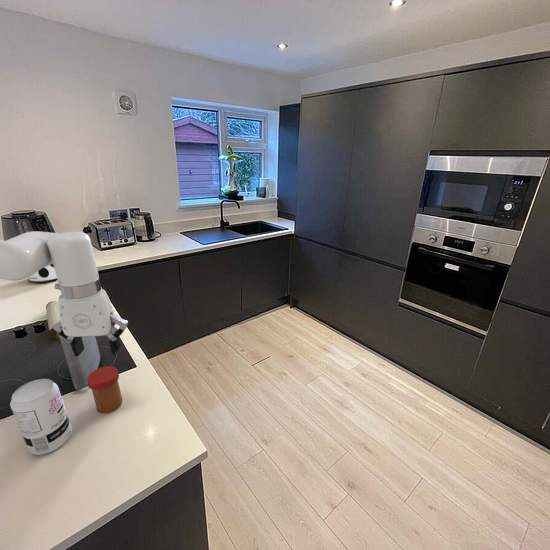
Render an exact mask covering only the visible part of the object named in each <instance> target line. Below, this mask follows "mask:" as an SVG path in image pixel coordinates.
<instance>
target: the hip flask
mask: <svg viewBox="0 0 550 550" xmlns="http://www.w3.org/2000/svg"><path fill="white" fill-rule="evenodd" d="M59 337H60V339H59V340H60V343H61V346H62V350H63V353H64V356H65V357H64V358H65V360H66V364H67V366H68V370H69V373H70V377H71V381H72V384H73V387H74V389H75V390H76V391H80V390H81V391H82V390H83V389H85V388H87V386H88V381H87V378H88V376H89V375H90V374H91V373H92V372H93V371H95V370H97V369H99V365H100V361H101V354H100V350H99V346H98V341H97V338H96V337H97V336H84V337H82V341H83V344H84V348H85V349H84V350H83V352H82V353H81V354H80V355H79V356H78V357H75V355H74V352H73V351H72V347H71V344H70V343H68V342H67V341H66V340H67V339H65V338H64V337H62V336H59Z"/></svg>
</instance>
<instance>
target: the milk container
mask: <svg viewBox="0 0 550 550" xmlns="http://www.w3.org/2000/svg"><path fill="white" fill-rule="evenodd" d="M27 279H28V280H29V281H30V282H34V283H46V282H52V281H55V280H58V279H57V276H56V272H55V269H54V266H53V264H50V265H48V266H46V267H44V268H42V269H40V270H39V271H38V272H36V273H35V274H33V275H32V276H30V277H28V278H27Z"/></svg>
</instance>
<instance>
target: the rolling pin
mask: <svg viewBox="0 0 550 550" xmlns="http://www.w3.org/2000/svg"><path fill="white" fill-rule="evenodd" d="M45 309H46V321H47V327H48V330H49V331H48V335H49V337H50V338H51V339H54V340H60V337H59V336H60V334H59V333H58V332H57V331H56V330H54V329H53V328H52V326H53V325H55V324H56V323H57V322H58V321H60V314H59V301H55V300H53V301H49V302H47V304H46V305H45Z"/></svg>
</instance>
